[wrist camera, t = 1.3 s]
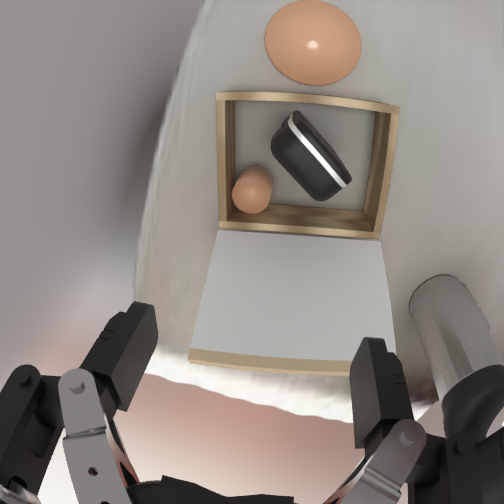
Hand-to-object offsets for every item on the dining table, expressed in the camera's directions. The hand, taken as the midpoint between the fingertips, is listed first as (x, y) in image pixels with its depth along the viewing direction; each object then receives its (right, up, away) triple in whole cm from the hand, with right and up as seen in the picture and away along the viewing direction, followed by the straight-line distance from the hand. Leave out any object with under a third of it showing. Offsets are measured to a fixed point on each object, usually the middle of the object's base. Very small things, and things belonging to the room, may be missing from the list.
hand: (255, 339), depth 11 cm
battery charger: (+6, +15, +21) cm, 27 cm away
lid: (+4, 0, +16) cm, 16 cm away
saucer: (+6, +25, +15) cm, 30 cm away
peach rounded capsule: (0, +11, +24) cm, 26 cm away
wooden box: (+6, +14, +22) cm, 26 cm away
